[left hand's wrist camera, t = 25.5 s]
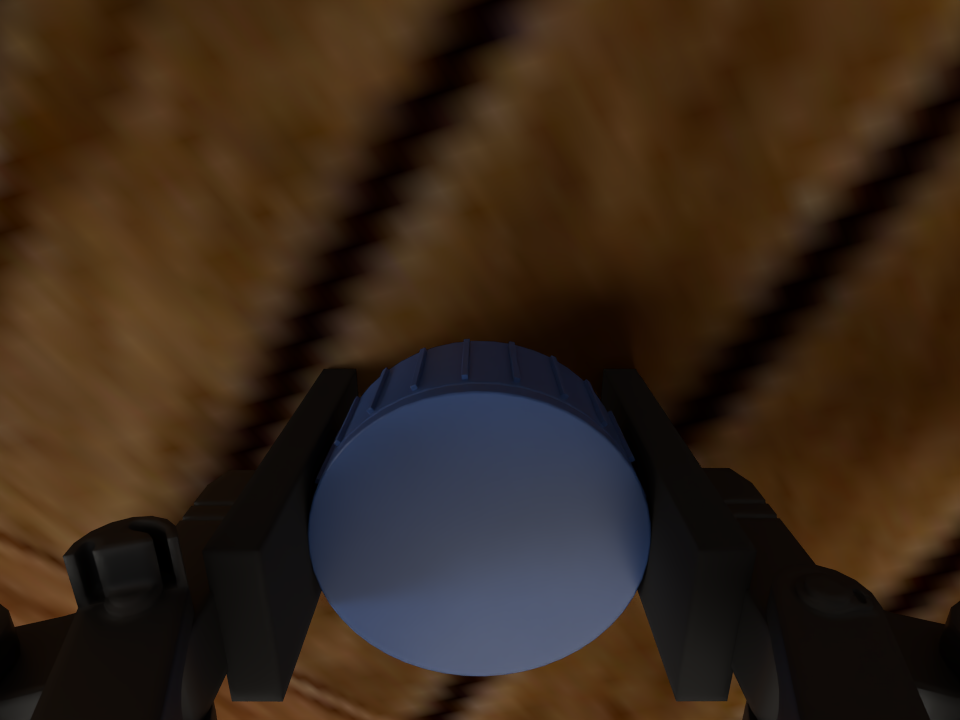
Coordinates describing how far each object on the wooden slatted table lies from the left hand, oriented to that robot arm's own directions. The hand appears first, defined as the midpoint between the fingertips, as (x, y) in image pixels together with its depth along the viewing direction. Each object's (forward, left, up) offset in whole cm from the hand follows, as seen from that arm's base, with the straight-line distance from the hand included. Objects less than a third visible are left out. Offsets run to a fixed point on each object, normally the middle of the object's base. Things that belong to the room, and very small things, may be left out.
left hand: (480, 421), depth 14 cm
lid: (0, 0, +4) cm, 4 cm away
